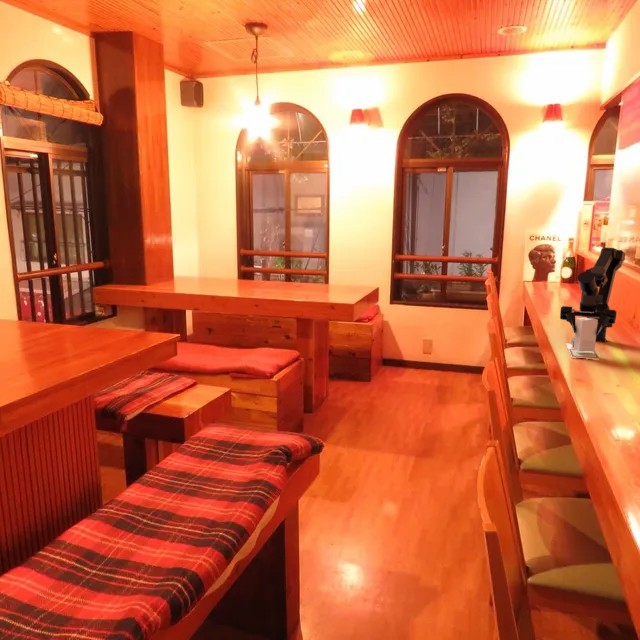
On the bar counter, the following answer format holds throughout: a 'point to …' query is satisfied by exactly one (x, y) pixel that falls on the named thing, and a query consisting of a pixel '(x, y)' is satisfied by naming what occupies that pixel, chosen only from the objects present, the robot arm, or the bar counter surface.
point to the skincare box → (585, 334)
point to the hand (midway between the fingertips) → (585, 333)
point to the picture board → (581, 352)
